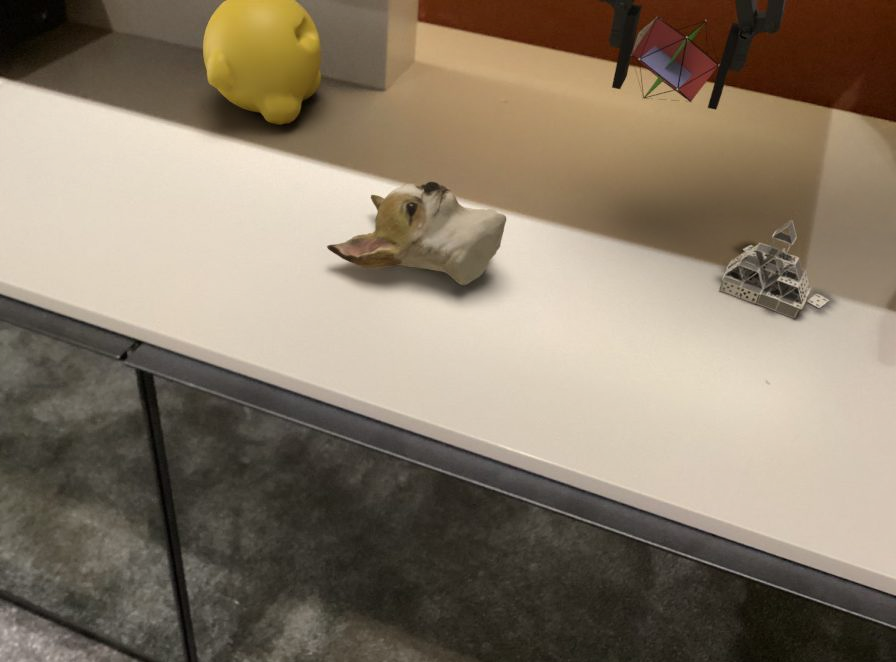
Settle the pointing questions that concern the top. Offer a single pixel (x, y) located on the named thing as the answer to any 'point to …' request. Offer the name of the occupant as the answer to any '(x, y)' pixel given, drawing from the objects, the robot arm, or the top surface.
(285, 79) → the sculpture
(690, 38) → the geometric puzzle
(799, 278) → the house of cards
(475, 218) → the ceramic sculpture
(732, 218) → the top surface
